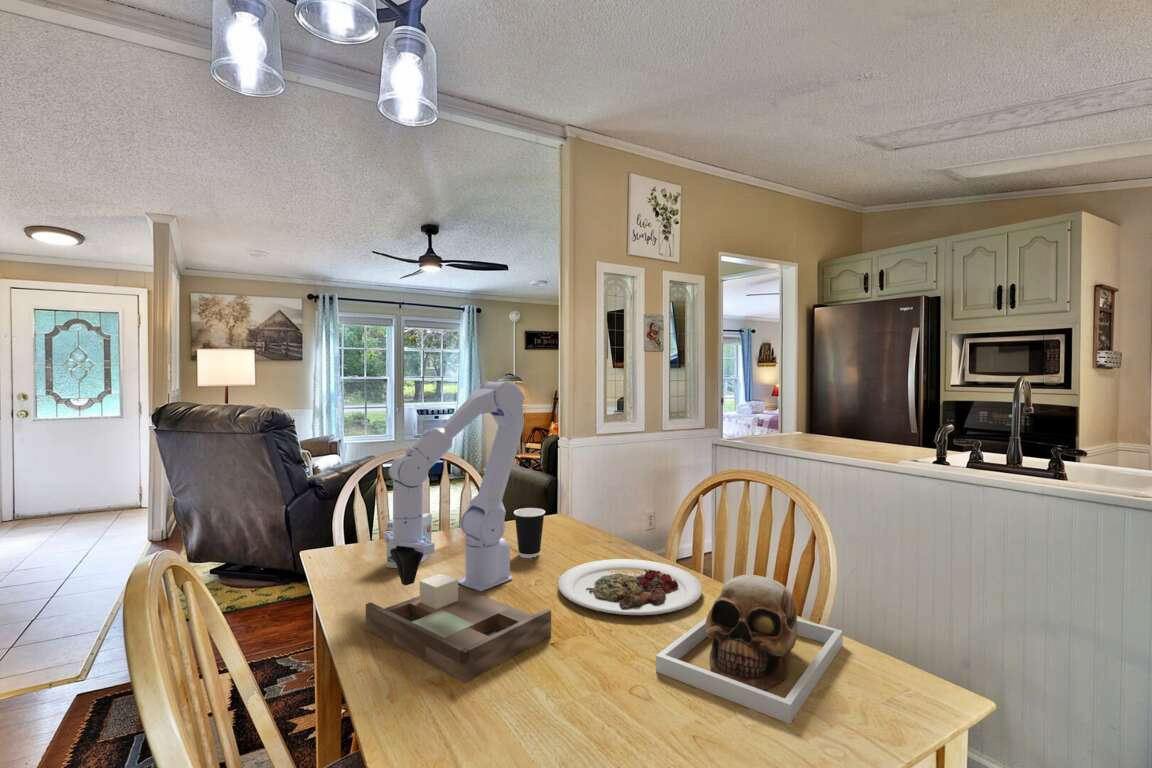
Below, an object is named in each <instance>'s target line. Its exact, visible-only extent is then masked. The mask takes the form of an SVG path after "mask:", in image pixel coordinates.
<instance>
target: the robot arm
mask: <svg viewBox="0 0 1152 768" xmlns="http://www.w3.org/2000/svg"><path fill="white" fill-rule="evenodd" d="M525 399H526V397H525V395H524V393H523V392H522V390H521V388H520V387H519V385H517V384H516V383H515V382H513V381H510V380H509V381H492V380H490V381H489V380H488V381H485V382H483V383H482V384H481V385H480V386H479V387H478V388H476V389H474V390H473V392H472V393H471V394H470V396H469V397H468V398H467V399H466V400H465V401H464V402H463V403H462V405H460V407H459V408H458V409H457V410H456V411H455V412H454V413H453V414H452V415H451V416H450V417H449V418H448V419H447V421H445V423H444V424H443V425H442V426H440V427H431V428H430V429H425V430H424V431H423V432H421V434H422V437H420V438H419V440H417V442H415V443H414V444H413V445H412V446H411V447H407V448H406V449H405V450H404V451H405V454H399V455H398V456H396V457H395V458H394V459H393V460H392V462H391V465H390V466H389V467H390V468H388V471H387V472H388V475H389V477H390V479H391V480H392V483H393V485H392V489H393V490H392V491H393V492H392V520H393V530H391V531H387V530H386V531H383V542H385V543H387V542H388V545H390V546H396V548H394V549H391V550H390V554H391V555H392V557H393V558H394V560H395V563H396V565H397V568H396V569H397V571H398V574H399V579H400V582H401V585H403V586H410V585H413V584H415V581H416V577H417V574H418V569H419V565H420V564H421V563H420V561H421V559H422V557H423V555H425V556H427V555H430V554H431V555H433V554H435V543H434V542H432V541H431V542H430V541H429V540H428V539H427V538H425V537H424V536H423V513H424V501H423V500H424V487H423V486H424V483H423V482H425V481H426V480H427V478H428V475H429V471H430V469H431V468H433V467H434V465H435V464H436V463H438V462H439V460H440V459H441V458H443V456H444V455H445V454H447V452H448V451H449V450H451V448H452V447H453V439H454V438H455V437H456V436H458V434H460V433H461V432H462V431H463V430H465V428H466V427H468V426H469V425H470V424H471V423H472V422H473V421H474V420H476V419H477V418H478V417H479V416H480V415H482V414H483V415H484V414H488V413H489V414H490V415H491V416H492V417H493V419H494V421H495V422H496V424H497V430H496V434H495V437H494V440H493V443H492V446H491V450H490V453H489V457H488V460H487V464H486V467H485V469H484V473H483V477H482V480H481V483H480V487H479V490H478V493H477V494H476V495H475V497H473V498H472V499H471V500H470V502H469V505H468V507H467V508H466V510H465V511H464V513H463V514H462V515H461V517H460V521H459V523H460V530H461V531H462V533H464V534H465V555H464V557H465V559H464V561H465V564H464V565H465V575H464V577H463V578H460V579H458V585H461V586H463V587H466V588H469V589H473V590H474V591H478V592H484V591H485V590H486V591H487V590H488V589H491V588H493V587H495V586H496V587H497V586H498V585H501V584H503V583H506V582H508V581H512V580H513V576H511V575H510V573H511V561H510V560H511V550H510V546H509V543H508V542H507V540H506V539H505V538H504V537H503V536H504V534H505V529H506V525H505V517H506V514H507V513H506V508H505V506H504V503H503V499H504V495H505V491H506V489H507V485H508V481H509V478H510V475H511V471H512V468H513V464H514V460H515V457H516V453H517V450H518V447H519V443H520V440H521V436H522V433H523V431H524V430H523V429H524V428H525V416H524V407H523V405H524V401H525Z"/></svg>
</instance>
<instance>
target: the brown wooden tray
mask: <svg viewBox="0 0 1152 768" xmlns="http://www.w3.org/2000/svg"><path fill="white" fill-rule="evenodd" d="M365 630H366V631H367V632H370V633H372V634H373V635H375V636H377V637H379V638H380V639H383V640H384V641H386V642H388V643H390V644H392V645H393V646H395V647H397V648H400V649H401V650H403V651H405V652H407V653H408V654H410V655H413V656H414V657H416V658H417V659H419V660H421V661H424V662H425V663H426V664H429V665H431V666H432V667H434V668H436V669H438V670H440V671H441V672H443V673H446V674H447V675H449V676H450V677H453V679H456V680H458V681H459V682H462V683H463V684H466V683H467V682H470V681H471V680H474V679H476V678H477V677H479V676H480V675H482V674H484V673H486V672H488V671H490V670H492V669H493V668H495V667H497V666H499V665H501V664H502V663H505V662H506V661H508V660H510V659H511V658H512V659H513V658H514V657H515V656H517V655H519V654H521V653H523V652H524V651H526V650H529V649H530V648H531V647H533V646H536V645H538V644H539V643H541V642H543V641H544V640H546V639H549V638H550V637H551V636H552V609H549V608H545V609H543V610H541V611H539V612H537V613H535V614H532V613H529V612H526V611H525V610H521V609H518V608H516V607H513V606H512V605H508V604H505V603H503V602H500V601H498V600H495V599H492V598H489V597H487V596H484V595H482V594H479V593H476V592H473V591H472V590H468V589H466V588H463V587H460V586H458V601H456V602H453V603H451V604H448V605H446V606H443V607H441V608H438V609H434V608H432V607H430V606H427V605H425V604H423V603H421V602H420V595H418V596H416V597H412V598H410V599H408V600H407V599H406V600H404V601H402V602H400V603H396V604H394V605H390V606H387V607H385V608H384V607H382V606H379V605H378V604H375V603H373V602H371V601H370V602H367V603H365Z"/></svg>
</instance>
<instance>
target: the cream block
mask: <svg viewBox="0 0 1152 768" xmlns="http://www.w3.org/2000/svg"><path fill="white" fill-rule="evenodd" d="M458 580H459V579H458V578H454V577H452V576H449V575H447V574H444V573H439V574H437V575H433V576H430V577H427V578H424V579H421V580H419V596H420V602H421V603H423V604H425V605H427V606H430V607H432V608H434V609H438V608H441V607H443V606H446V605H448V604H451V603H453V602H456V601H458V587H459V583H458Z"/></svg>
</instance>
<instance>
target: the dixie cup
mask: <svg viewBox="0 0 1152 768" xmlns="http://www.w3.org/2000/svg"><path fill="white" fill-rule="evenodd" d="M545 514H546V510H544V509H543V508H537V507H536V508H535V507H525V508H519V509H515V510H514V511H513V515H514V519H515V528H516V529H515V530H516V539H517V541H516V542H517V548H518V553H519V556H520V557H521V558H523V559H533V558H532V557H535V558H537V557H539V556H538V555H539V554H540V552H541V546H542V545H541V544H542V536H543V526H544V518H545ZM536 556H537V557H536Z"/></svg>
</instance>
